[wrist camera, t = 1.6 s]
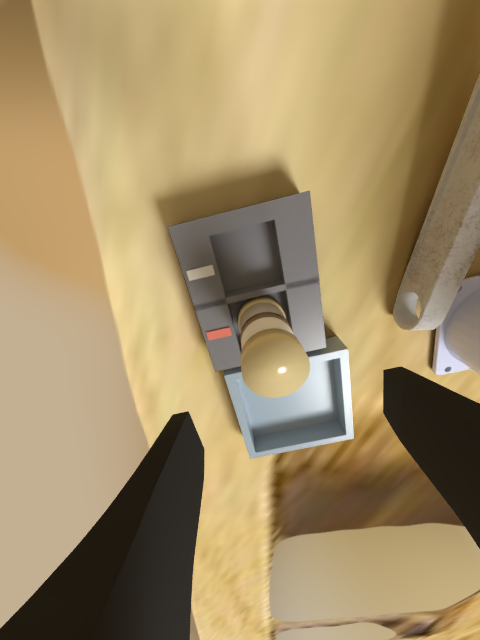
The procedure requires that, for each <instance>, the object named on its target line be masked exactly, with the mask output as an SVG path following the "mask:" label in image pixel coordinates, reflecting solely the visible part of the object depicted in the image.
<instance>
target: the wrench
mask: <svg viewBox="0 0 480 640" xmlns="http://www.w3.org/2000/svg"><path fill="white" fill-rule="evenodd" d="M479 247H480V73H479V76H478V79H477V81H476V84H475V87H474V89H473V92H472V95H471V97H470V100H469V103H468V105H467V108H466V111H465V113H464V116H463V119H462V121H461V124H460V127H459V129H458V132H457V135H456V137H455V140H454V143H453V146H452V148H451V151H450V154H449V156H448V159H447V162H446V164H445V167H444V170H443V173H442V175H441V178H440V181H439V183H438V186H437V189H436V191H435V194H434V197H433V200H432V202H431V205H430V208H429V210H428V213H427V216H426V219H425V221H424V224H423V227H422V229H421V232H420V235H419V237H418V240H417V242H416V245H415V248H414V250H413V253H412V255H411V258H410V261H409V263H408V266H407V269H406V271H405V274H404V276H403V279H402V282H401V285H400V287H399V291H398V294H397V298H396V301H395V305H394V309H393V317H394V320H395V322H396V323H397V325H398V326H399V327H400V328H402V329H404V330H433V329H435V328H437V327H438V326H439V325H441V324H442V322H443V321H444V319H445V317H446V315H447V313H448V311H449V309H450V307H451V305H452V303H453V301H454V299H455V297H456V294H457V292H458V290H459V288H460V286H461V284H462V282H463V280H464V278H465V276H466V274H467V272H468V270H469V268H470V266H471V264H472V262H473V260H474V258H475V256H476V254H477V252H478V249H479ZM418 298H419V299H420V302H421V313H420V317H419V319H418V317H417V315H416V306H417V300H418Z"/></svg>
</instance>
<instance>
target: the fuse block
mask: <svg viewBox="0 0 480 640" xmlns="http://www.w3.org/2000/svg"><path fill="white" fill-rule="evenodd" d="M168 230H169V233H170V236H171V239H172V242H173V245H174V248H175V251H176V254H177V257H178V260H179V263H180V266H181V269H182V272H183V275H184V278H185V281H186V284H187V287H188V290H189V293H190V296H191V299H192V302H193V305H194V308H195V311H196V314H197V317H198V320H199V323H200V326H201V329H202V333H203V336H204V339H205V342H206V345H207V348H208V351H209V354H210V357H211V360H212V363H213V366H214V369H215V372H217V371H221V370H226V369H230V368H235V367H239V366H241V351H242V348H241V341H240V331H239V328H238V311H239V308H240V306H241V305H242V304H243V303H244V301H246V300H247V299H250V298H254V297H259V296H263V295H267V296H270V297H272V298H274V299H275V300H276V301H277V302H278V303H279V304H280V306H281V308H282V309H283V311H284V313H285V316H286V320H287V322H288V323H289V325H290V327H291V329H292V331H293V334H294V335H295V336H296V337H297V338H298V340H299V341H300V343H301V345H302V346H303V348H304V350H305V352H308V351H313V350H317V349H322V348H326V340H325V331H324V321H323V312H322V302H321V293H320V283H319V274H318V264H317V255H316V245H315V236H314V226H313V217H312V208H311V198H310V191H306V192H302V193H298V194H294V195H290V196H287V197H283V198H279V199H275V200H271V201H267V202H263V203H259V204H255V205H251V206H247V207H244V208H240V209H236V210H232V211H228V212H224V213H220V214H216V215H212V216H208V217H204V218H200V219H197V220H193V221H189V222H185V223H181V224H177V225H173V226H169V227H168Z"/></svg>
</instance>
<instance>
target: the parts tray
mask: <svg viewBox="0 0 480 640" xmlns="http://www.w3.org/2000/svg"><path fill="white" fill-rule="evenodd" d="M325 340H326V348H322V349H317V350H313V351H308V352H306V354H307V356H308V358H309V362H310V372H309V375H308V378H307V379H306V381H305V382H304V384H303V385H302V386H301V387H300V388H299V389H298V390H296V391H295V392H293V393H291V394H289V395H286V396H283V397H277V398H269V397H263V396H260V395H258V394H256V393H254V392H252V391H251V390H250V389H249V388H248V387H247V386H246V384H245V383H244V381H243V378H242V371H241V366H239V367H235V368H230V369H226V370H224V377H225V381H226V384H227V387H228V390H229V393H230V396H231V400H232V403H233V406H234V409H235V412H236V415H237V419H238V422H239V425H240V428H241V431H242V434H243V438H244V441H245V444H246V447H247V450H248V453H249V457H250V459H252V458H257V457H262V456H267V455H272V454H277V453H282V452H287V451H292V450H298V449H303V448H308V447H313V446H318V445H323V444H328V443H333V442H338V441H343V440H349V439H354V433H353V417H352V402H351V386H350V371H349V355H348V348H347V347H346V346H345V345H344V344H343V342H342V341H341V340H340V339H339V338H338V337H337V336H334V337H329V338H325Z"/></svg>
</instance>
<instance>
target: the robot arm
mask: <svg viewBox="0 0 480 640" xmlns="http://www.w3.org/2000/svg"><path fill="white" fill-rule="evenodd" d="M446 367H447V368H446ZM468 369H472V370H474V371H475V372H477V373H478V374H480V275H478V276H473V277H469V278H465V279H464V280H463V282H462V284H461V286H460V288H459V290H458V292H457V294H456V297H455V299H454V301H453V303H452V305H451V307H450V309H449V311H448V313H447V315H446V317H445V319H444V321H443V322H442V324H441V325H439V326H438V327H437V328H436V337H435V347H434V357H433V367H432V371H433V372H434V373H435V374H436V375H444V374H449V373H454V372H458V371H463V370H468ZM383 413H384V415H385V417H386V418H387V420H388V422H389V423H390V425H391V427H392V429H393V430H394V432H395V433H396V435H397V437H398V438H399V440H400V441H401V443H402V444H403V445H404V447H405V448H406V449H407V451H408V452H409V453H410V455H411V456H412V457H413V459H414V460H415V461H416V462H417V464H418V465H419V466H420V468H421V469H422V470H423V472H424V473H425V474H426V475H427V477H428V478H429V479H430V481H431V482H432V483H433V485H434V486H435V487H436V488H437V490H438V491H439V492H440V494H441V495H442V496H443V498H444V499H445V500H446V501H447V503H448V504H449V505H450V507H451V508H452V509H453V511H454V512H455V513H456V515H457V516H458V517H459V519H460V520H461V522H462V523H463V524H464V526H465V527H466V529H467V530H468V532H469V533H470V535H471V536H472V538H473V539H474V541H475V542H476V544H477V545H478V547H479V548H480V404H479V403H477V402H475V401H473V400H470V399H468V398H466V397H464V396H462V395H460V394H458V393H456V392H453V391H451V390H449V389H447V388H445V387H443V386H441V385H439V384H437V383H435V382H433V381H431V380H429V379H427V378H425V377H422V376H420V375H418V374H416V373H414V372H412V371H410V370H408V369H405V368H403V367H396V368H392V369H387V370H384V388H383ZM203 482H204V447H203V445H202V443H201V440H200V438H199V435H198V433H197V431H196V428H195V426H194V423H193V421H192V419H191V416H190V414H189V411H188V412H183V413H178V414H174V415H172V417H171V418H170V420H169V421H168V423H167V424H166V426H165V427H164V429H163V430H162V432H161V433H160V435H159V436H158V438H157V439H156V441H155V442H154V444H153V445H152V447H151V449H150V450H149V452H148V453H147V454H146V456H145V457H144V459H143V460H142V462H141V463H140V465H139V466H138V468H137V469H136V471H135V472H134V474H133V475H132V476H131V478H130V479H129V481H128V482H127V483H126V485H125V486H124V487H123V489H122V490H121V491H120V493H119V494H118V496H117V497H116V498H115V500H114V501H113V502H112V504H111V505H110V506H109V508H108V509H107V510H106V512H105V513H104V514H103V515H102V516H101V518H100V519H99V520H98V521H97V523H96V524H95V525H94V526H93V527H92V529H91V530H90V531H89V532H88V533H87V535H86V536H85V537H84V538H83V539H82V541H81V542H80V543H79V544H78V545H77V546H76V548H75V549H74V550H73V551H72V552H71V553H70V555H69V556H68V557H67V558H66V559H65V560H64V561H63V562H62V563H61V564H60V566H59V567H58V568H57V569H56V570H55V571H54V572H53V573H52V574H51V576H50V577H49V578H48V579H47V580H46V581H45V582H44V583H43V584H42V585H41V586H40V588H39V589H38V590H37V591H36V592H35V593H34V594H33V595H32V596H31V597H30V599H29V600H28V601H27V602H26V603H25V604H24V605H23V606H22V607H21V608H20V609H19V610H18V611H17V612H16V613H15V614H14V615H13V616H12V617H11V618H10V619H9V620H8V621H7V622H6V623H5V624H4V625H3V626H2V627H1V628H0V640H190V613H191V594H192V575H193V564H194V554H195V546H196V538H197V530H198V522H199V515H200V507H201V499H202V490H203Z"/></svg>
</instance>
